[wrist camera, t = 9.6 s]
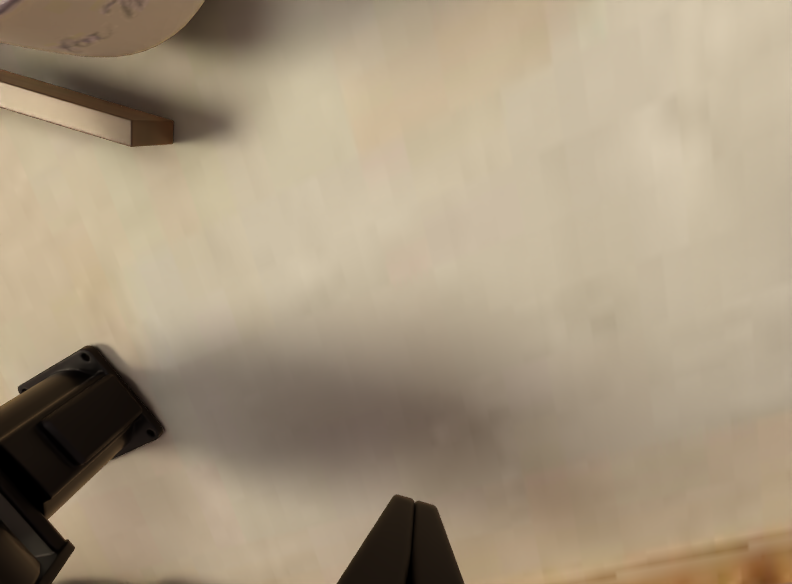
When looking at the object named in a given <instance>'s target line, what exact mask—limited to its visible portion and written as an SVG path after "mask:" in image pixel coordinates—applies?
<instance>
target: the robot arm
mask: <svg viewBox="0 0 792 584" xmlns="http://www.w3.org/2000/svg"><path fill="white" fill-rule="evenodd" d="M18 391H19V393H20V395H18V396H17V397H15V398H13V399H12V400H10V401H8V402H7V403H5V404H4V405H2V406H0V584H51V583H52V582H53V580H54V579H55V577H56V576H57V574H58V573H59V571H60V570H61V568H62V567H63V566H64V564H65V563H66V561H67V560H68V558H69V557H70V555H71V554H72V552H73V551H74V549H75V547H74V546H73V544H72V543H71V542H70V541H69V540H68V539H67V540H65V539H64V538H63V537H62V536H61V534H60V533H59V532H58V531H57V530H56V529H55V528H54V526H53V525H52V524H51V523H50V522H49V521H48V519H49V518H50V517H51V516H52V515H53V514H54V513H55V512H56V511H57V510H58V509H59V508H60V507H61V506H62V505H63V504H65V503H66V502H67V501H68V500H69V499H70V498H71V497H72V496H73V495H74V494H75V493H76V492H77V491H78V490H79V489H80V488H81V487H82V486H83V485H85V484H86V483H87V482H88V481H89V480H90V479H91V478H92V477H93V476H94V475H95V474H96V473H97V472H98V471H99V470H100V469H101V468H102V467H103V466H104V465H106V464H107V463H108V462H109V461H110V460H112V459H114V458H116V457H118V456H121V455H123V454H125V453H127V452H129V451H132V450H134V449H136V448H138V447H140V446H143V445H145V444H147V443H149V442H151V441H154V440H156V439H157V438H158V437H159V436H160V435H161V434H162V433H163V428H162V426H161V425H160V424H159V423H158V421H157V420H156V419H155V418H154V417H153V415H152V414H151V413H150V412H149V411H148V410H147V408H146V407H145V406H144V405H143V404H142V402H141V401H140V400H139V399H138V398H137V397H136V395H135V394H134V393H133V392H132V391H131V389H130V388H129V387H128V386H127V385H126V384H125V382H124V381H123V380H122V379H121V378H120V377H119V375H118V374H117V373H116V372H115V371H114V369H113V368H112V367H111V366H110V365H109V364H108V362H107V361H106V360H105V359H104V358H103V356H102V355H101V354H100V353H99V352H98V351H97V350H96V349H95V348H94V347H92V346H85V347H84V348H82V349H80V350H79V351H77V352H75V353H74V354H72V355H70V356H69V357H67V358H65V359H64V360H62V361H60V362H58V363H57V364H55V365H53V366H52V367H50V368H48V369H47V370H45V371H43V372H42V373H40V374H38V375H37V376H35V377H33V378H32V379H30V380H28V381H27V382H25V383H23V384H22V385H20V386H19V387H18ZM337 584H464V581H463V579H462V576H461V573H460V570H459V568H458V565H457V562H456V559H455V556H454V554H453V551H452V548H451V545H450V543H449V540H448V537H447V534H446V532H445V529H444V526H443V523H442V521H441V518H440V515H439V512H438V510H437V508H436V507H435V506H434V505H431V504H428V503H425V502H421V501H416V502H415V503H414V500H413V499H411V498H408V497H404V496H401V495H394V496H393V497H392V499H391V500H390V502H389V504H388V505H387V507H386V508H385V510H384V511H383V513H382V514H381V516H380V517H379V519H378V521H377V522H376V524H375V525H374V527H373V528H372V530H371V531H370V533H369V535H368V536H367V538H366V539H365V541H364V542H363V544H362V545H361V547H360V548H359V550H358V552H357V553H356V555H355V556H354V558H353V559H352V561H351V562H350V564H349V565H348V567H347V569H346V570H345V572H344V573H343V575H342V576H341V578H340V579H339V581H338V583H337Z"/></svg>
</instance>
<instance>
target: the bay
mask: <svg viewBox="0 0 792 584" xmlns="http://www.w3.org/2000/svg"><path fill="white" fill-rule="evenodd" d="M0 107H1V108H4V109H7V110H11V111H14V112H17V113H21V114H24V115H27V116H31V117H34V118H37V119H41V120H44V121H47V122H50V123H54V124H57V125H60V126H64V127H67V128H70V129H74V130H77V131H80V132H84V133H87V134H90V135H94V136H97V137H100V138H104V139H107V140H110V141H114V142H117V143H120V144H124V145H127V146H130V147H137V146H152V145H167V144H173V126H174V121H173V120H170V119H166V118H163V117H160V116H156V115H153V114H150V113H146V112H143V111H139V110H136V109H133V108H129V107H126V106H123V105H119V104H116V103H113V102H109V101H106V100H103V99H99V98H96V97H92V96H89V95H86V94H82V93H79V92H76V91H72V90H69V89H66V88H62V87H59V86H55V85H52V84H49V83H45V82H42V81H39V80H35V79H32V78H29V77H25V76H22V75H19V74H15V73H12V72H8V71H5V70H2V69H0Z"/></svg>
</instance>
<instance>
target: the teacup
mask: <svg viewBox="0 0 792 584" xmlns="http://www.w3.org/2000/svg"><path fill="white" fill-rule="evenodd" d="M204 1H205V0H0V43H5V44H11V45H16V46H21V47H26V48H32V49H37V50H43V51H49V52H55V53H62V54H69V55H77V56H85V57H118V56H124V55H131V54H135V53H139V52H142V51H146V50H148V49H151V48H153V47H155V46H158V45H159V44H161V43H162V42H164V41H166V40H167V39H169V38H171V37H172V36H174V35H175V34H176V33H177V32H178V31H179V30H181V29H182V28H183V27H184V26H185V25H186V24H187V23H188V22H189V21H190V20H191V18H192V17H193V16H194V15H195V14H196V12H197V11H198V10H199V9H200V7H201V5H202V4H203V2H204Z"/></svg>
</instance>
